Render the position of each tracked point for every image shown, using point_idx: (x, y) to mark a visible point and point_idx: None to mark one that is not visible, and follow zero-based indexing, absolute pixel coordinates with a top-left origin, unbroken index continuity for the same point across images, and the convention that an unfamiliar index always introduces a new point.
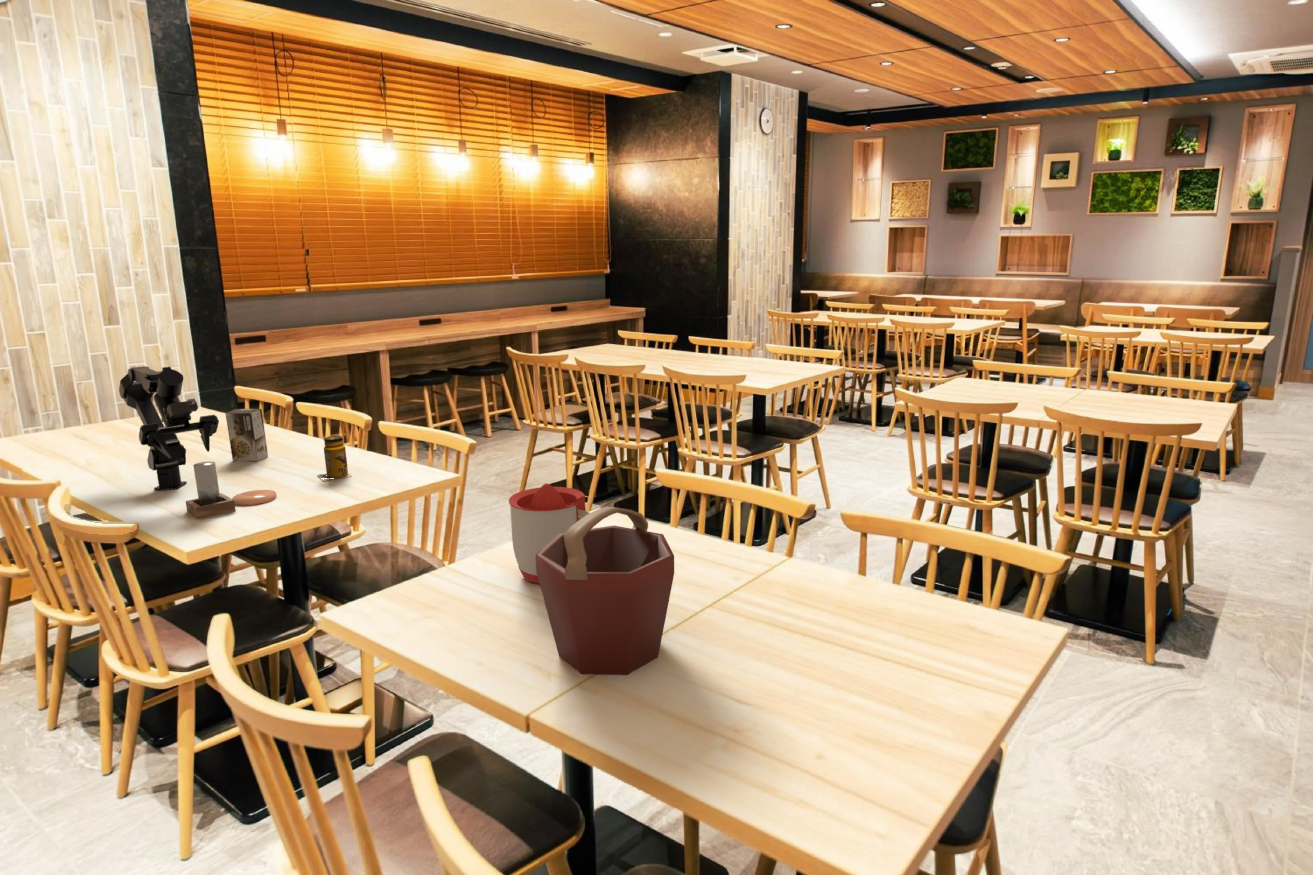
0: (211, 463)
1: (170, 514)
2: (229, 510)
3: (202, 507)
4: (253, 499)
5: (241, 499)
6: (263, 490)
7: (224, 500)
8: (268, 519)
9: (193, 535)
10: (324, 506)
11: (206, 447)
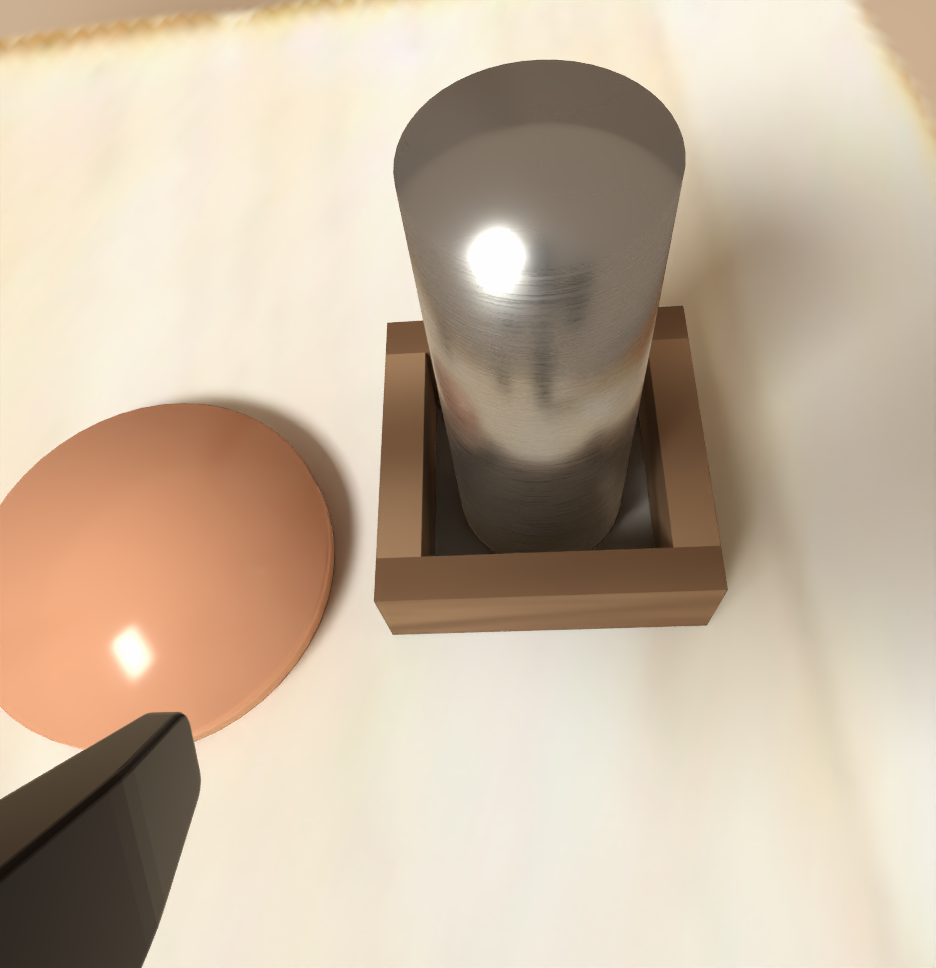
0: (452, 127)
1: (847, 662)
2: None
3: None
4: (208, 459)
5: (268, 530)
6: (2, 668)
7: (426, 433)
8: (335, 113)
9: (759, 110)
10: (10, 129)
11: (152, 813)
